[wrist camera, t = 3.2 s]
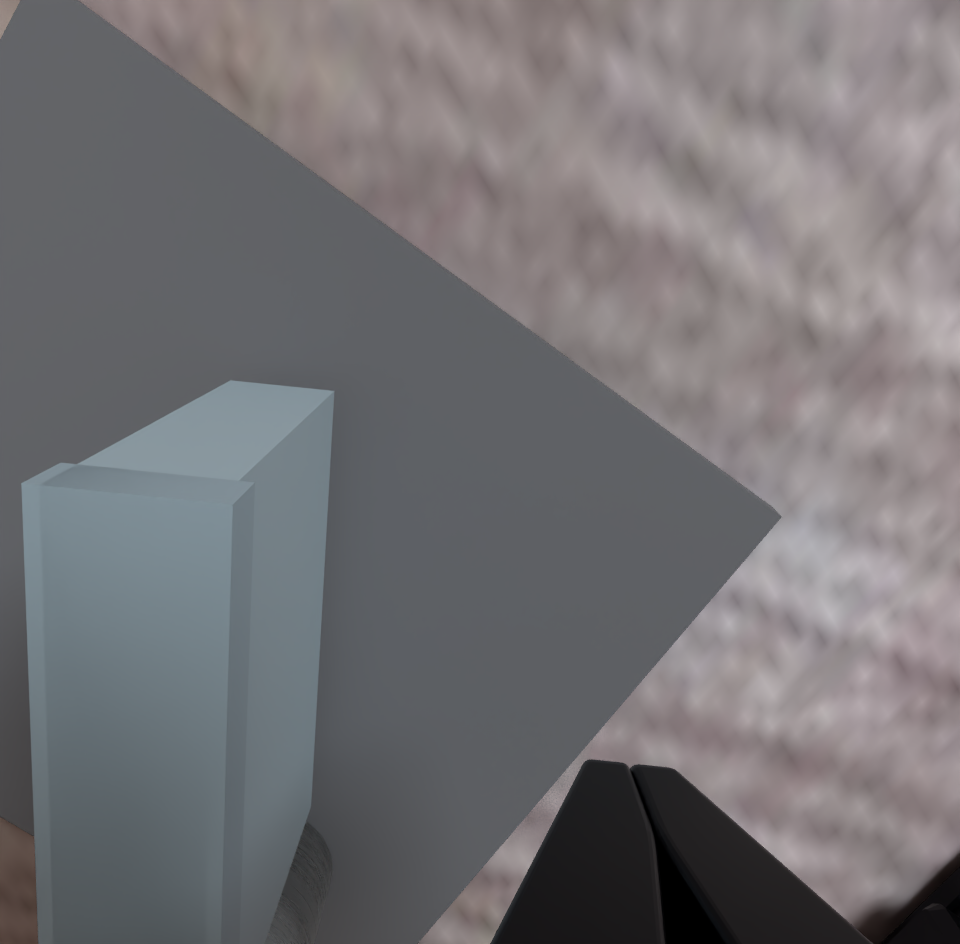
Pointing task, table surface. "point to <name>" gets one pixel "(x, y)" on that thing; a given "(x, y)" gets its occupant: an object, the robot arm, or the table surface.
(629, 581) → the mat
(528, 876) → the robot arm
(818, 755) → the table surface
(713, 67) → the table surface
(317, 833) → the hinge post
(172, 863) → the gate
